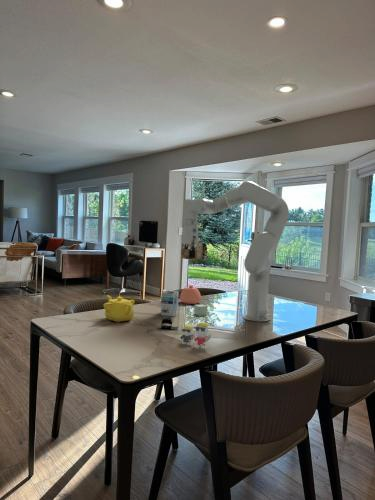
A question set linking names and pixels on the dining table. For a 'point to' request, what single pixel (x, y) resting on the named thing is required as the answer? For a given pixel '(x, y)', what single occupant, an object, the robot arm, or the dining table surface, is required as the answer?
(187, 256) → the block
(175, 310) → the light bulb box
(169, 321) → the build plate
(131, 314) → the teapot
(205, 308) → the cube
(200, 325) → the toy figures
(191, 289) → the sugar bowl
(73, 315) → the dining table surface
